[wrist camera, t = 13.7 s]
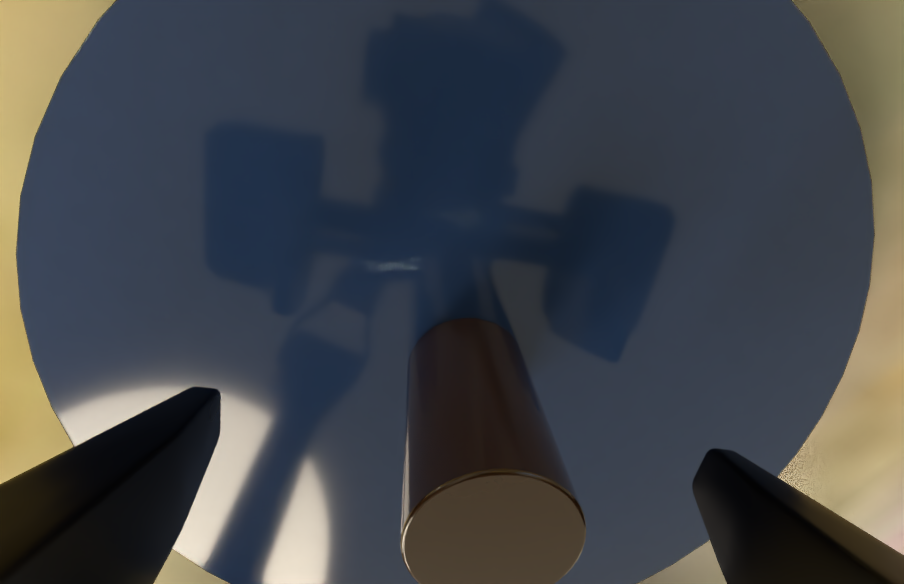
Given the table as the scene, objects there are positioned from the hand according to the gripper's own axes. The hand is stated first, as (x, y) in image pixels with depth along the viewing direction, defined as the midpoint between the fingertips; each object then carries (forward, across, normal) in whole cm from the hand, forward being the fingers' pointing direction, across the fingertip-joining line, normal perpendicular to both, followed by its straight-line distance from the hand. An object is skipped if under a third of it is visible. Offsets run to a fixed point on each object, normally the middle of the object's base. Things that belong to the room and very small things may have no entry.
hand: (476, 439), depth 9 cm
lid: (+3, 0, 0) cm, 3 cm away
